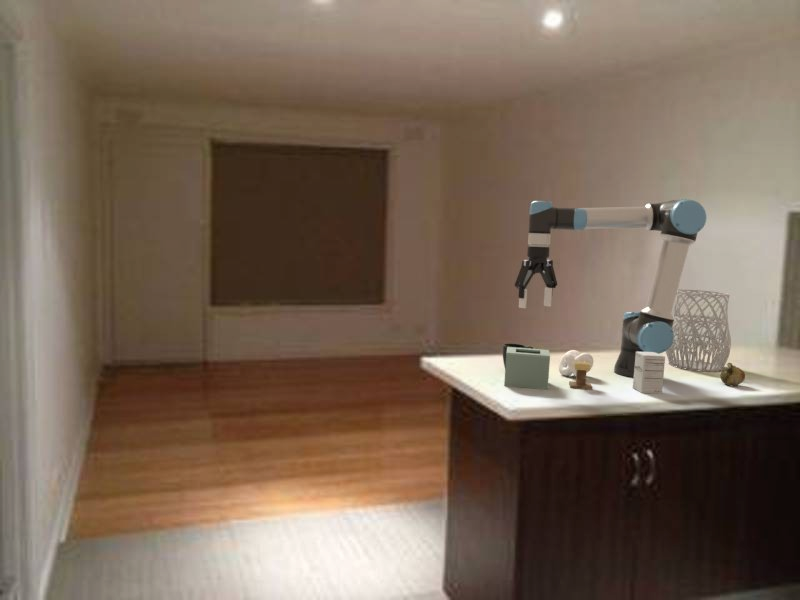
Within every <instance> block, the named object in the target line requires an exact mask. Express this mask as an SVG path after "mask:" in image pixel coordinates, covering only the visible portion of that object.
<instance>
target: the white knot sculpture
mask: <svg viewBox="0 0 800 600" xmlns="http://www.w3.org/2000/svg"><path fill="white" fill-rule="evenodd" d="M574 361H581V362H589V363H590V370H592V368H593V366H594V357H593V356H592V355H591V354H590V353H587V352H583V353H581V352H580V351H578V350H577V349H576V350H575V349H570V350H568V351H567V352H565V353H564V354H563V355H562V356H561V358H560V360H559V362H558V372H559V373H560V375H562V376H564V377H569V376H571V375H574V377H576V371H577V370H574ZM589 372H590V371H587V372H586V374H587V373H589Z"/></svg>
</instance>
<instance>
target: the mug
mask: <svg viewBox="0 0 800 600" xmlns="http://www.w3.org/2000/svg"><path fill="white" fill-rule="evenodd" d="M507 347H516V348H529V349H534V347H533V346H530V345H529V346H528V345H527V346H526V345H525V344H521V343H503V345H502V361H503V366H504V368H505V367H506V352H507Z"/></svg>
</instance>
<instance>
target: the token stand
mask: <svg viewBox="0 0 800 600" xmlns="http://www.w3.org/2000/svg"><path fill="white" fill-rule="evenodd" d="M586 372H587V371H586V370H577V371H576V376H575V381H574V380H569V381H568V384H569V387H570V388H571V389H579V390H580V389H581V390H593V386H592V383H591V382H587V373H588V372H587V373H586Z"/></svg>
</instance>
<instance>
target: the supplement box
mask: <svg viewBox="0 0 800 600" xmlns="http://www.w3.org/2000/svg"><path fill="white" fill-rule="evenodd" d="M665 362H666V356H665V355H662V353H660V354H658V353H656V352H636V356H635V367H634V377H632V378H633V381H632V389H635V390H637V391H638V392H640V393H642V394H660V395H661V394H662V393H663V385H664V383H663V382H664V374H665V373H664V372H665V364H666V363H665Z"/></svg>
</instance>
